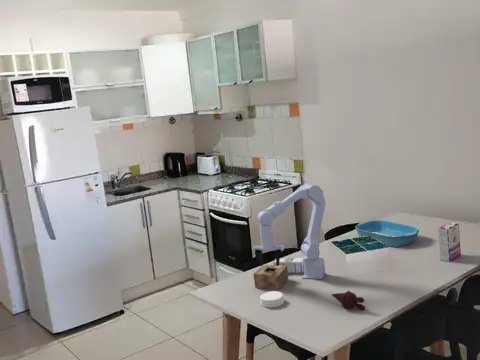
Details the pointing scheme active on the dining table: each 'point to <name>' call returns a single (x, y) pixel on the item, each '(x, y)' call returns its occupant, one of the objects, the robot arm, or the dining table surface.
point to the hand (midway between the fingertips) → (269, 265)
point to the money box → (271, 276)
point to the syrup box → (292, 264)
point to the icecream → (349, 300)
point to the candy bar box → (449, 241)
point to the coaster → (272, 299)
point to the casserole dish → (388, 232)
